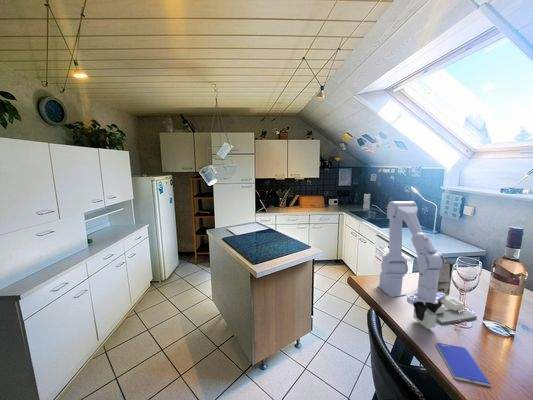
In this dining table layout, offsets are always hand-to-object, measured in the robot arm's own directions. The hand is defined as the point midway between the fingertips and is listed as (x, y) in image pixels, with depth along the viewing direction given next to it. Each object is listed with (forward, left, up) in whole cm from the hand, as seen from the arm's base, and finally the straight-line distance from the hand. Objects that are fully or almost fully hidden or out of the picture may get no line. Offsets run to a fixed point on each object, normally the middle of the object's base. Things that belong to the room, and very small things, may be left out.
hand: (424, 318), depth 83 cm
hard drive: (+16, -3, -4) cm, 17 cm away
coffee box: (-18, +25, -3) cm, 31 cm away
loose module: (0, 0, -2) cm, 2 cm away
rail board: (-6, +15, -3) cm, 16 cm away
